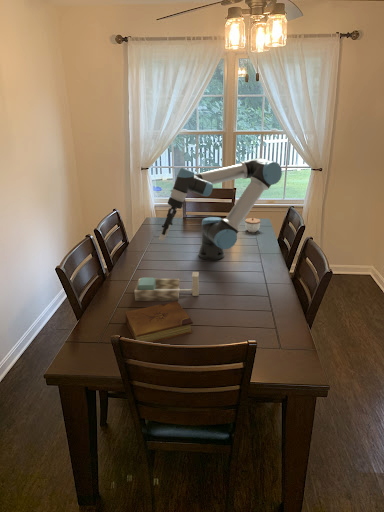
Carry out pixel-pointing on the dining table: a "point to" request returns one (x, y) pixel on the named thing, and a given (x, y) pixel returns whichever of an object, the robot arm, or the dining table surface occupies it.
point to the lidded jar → (252, 224)
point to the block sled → (151, 285)
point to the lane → (159, 291)
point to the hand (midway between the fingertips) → (162, 238)
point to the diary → (158, 322)
